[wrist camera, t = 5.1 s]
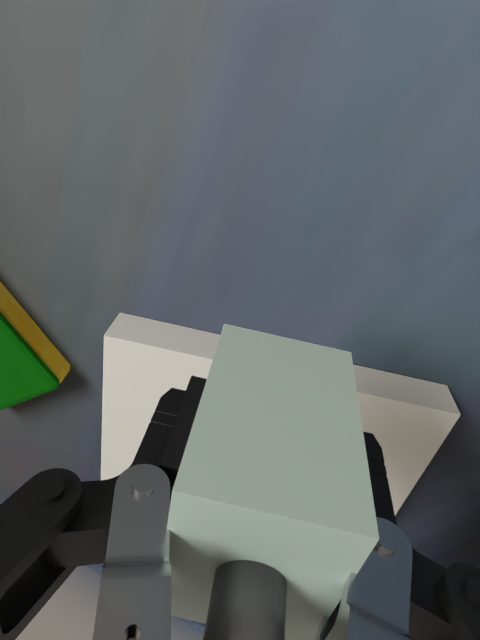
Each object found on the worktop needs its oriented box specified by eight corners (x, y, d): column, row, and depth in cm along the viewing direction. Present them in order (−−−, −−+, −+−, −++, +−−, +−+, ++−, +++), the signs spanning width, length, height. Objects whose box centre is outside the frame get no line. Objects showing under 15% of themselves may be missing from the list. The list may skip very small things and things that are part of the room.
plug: (351, 352, 13) (398, 668, 6) (308, 458, 16) (310, 759, 9) (224, 323, 13) (136, 604, 6) (203, 434, 16) (125, 714, 9)
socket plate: (447, 385, 25) (465, 425, 23) (357, 535, 34) (363, 577, 31) (120, 312, 25) (97, 343, 23) (112, 480, 34) (95, 518, 31)
